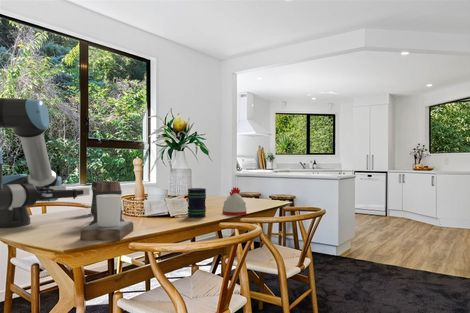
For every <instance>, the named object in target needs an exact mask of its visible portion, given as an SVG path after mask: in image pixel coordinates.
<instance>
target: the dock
mask: <svg viewBox="0 0 470 313" xmlns="http://www.w3.org/2000/svg"><path fill="white" fill-rule="evenodd" d="M124 221H125V220H124ZM124 221H120V224H119V225H118V226H113V227H100V226H98V222H97V223H95V224H92V225H90V224H89V225H90V226H89V225H88V226H86V227H84V228H82V229H81V230H80V234H79V235H80V236H79V237H80V241H121V240H122V239H124V238H125V237H126V236H128V235H129V234H131V233H132V232H134V222H133V221H125V222H124Z"/></svg>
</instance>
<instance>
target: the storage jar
mask: <svg viewBox="0 0 470 313" xmlns="http://www.w3.org/2000/svg"><path fill="white" fill-rule="evenodd" d="M206 196H207V189H206V188H205V187H204V188H201V187H200V188H199V187H198V188H197V187H194V188H193V187H191V188H188V189H187V200H188V201H187V203H188V204H187V205H188V206H187V218H189V219H191V218H192V219H202V218H206V217H207V216H206V213H207V207H206V199H207V197H206Z"/></svg>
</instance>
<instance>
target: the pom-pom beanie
mask: <svg viewBox="0 0 470 313" xmlns="http://www.w3.org/2000/svg"><path fill="white" fill-rule="evenodd" d="M240 192H241V188H240V189H239V187H236V186H235V187H232V189H231V190H230V191H229V195H228V196H227V198H225V200H224V202H223V207H222V214H223V215H227V216H243V215H247V205H246V201H245V200H244V199H243V196H241V194H240Z"/></svg>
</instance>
